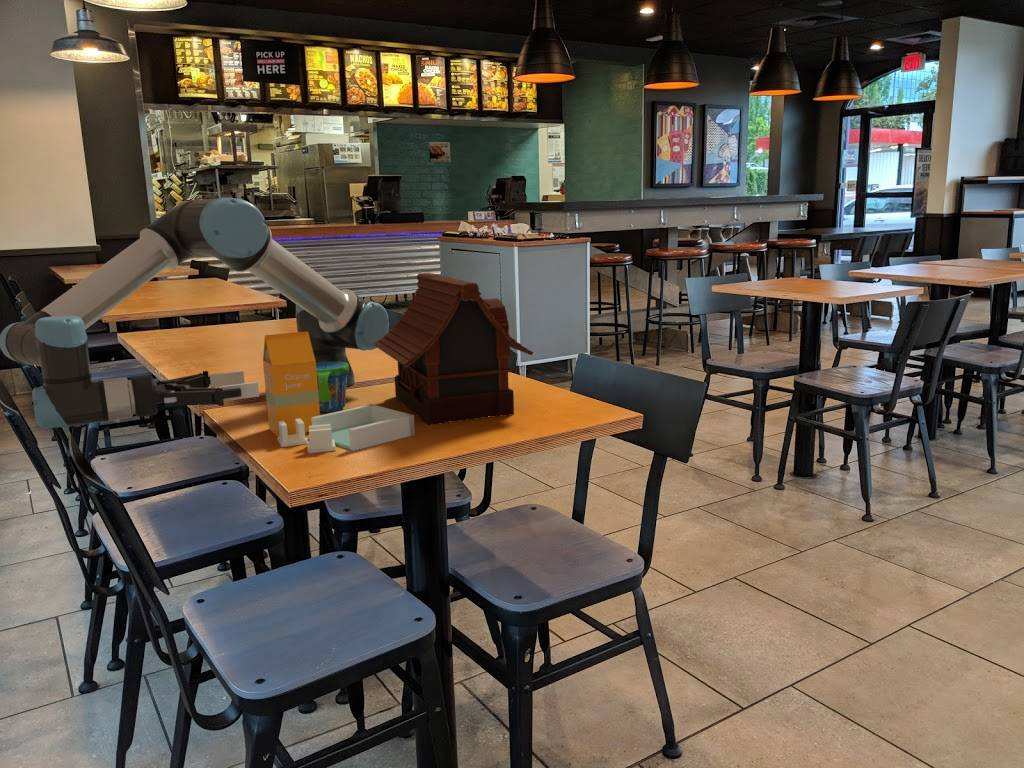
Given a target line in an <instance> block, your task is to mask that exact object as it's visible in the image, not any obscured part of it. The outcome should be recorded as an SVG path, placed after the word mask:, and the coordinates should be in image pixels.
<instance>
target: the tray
mask: <svg viewBox="0 0 1024 768" xmlns="http://www.w3.org/2000/svg"><path fill="white" fill-rule="evenodd" d="M311 421H312V426H313V425H324V424H331V431H332V440H333V439H334V440H335V446H339V447H341V448H344V449H347V450H349V451H353V452H356V451H359V449H360V450H362V449H366V448H370V447H374V446H378V445H382V444H385V443H389V442H392V441H397V440H401V439H404V438H407V437H408V438H409V437H412V436H415V435H416V432H415V428H416V427H415V415H414V414H410V413H408V412H407V413H406V412H404V411H399V410H395V409H391V408H388V407H383V406H380V405H376V404H371V403H370V404H366V405H361V406H357V407H353V408H352V407H351V408H348V409H344V410H343V409H342V410H337V411H332V412H328V413H326V414H320V416H315V417H311Z"/></svg>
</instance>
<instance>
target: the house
mask: <svg viewBox="0 0 1024 768" xmlns="http://www.w3.org/2000/svg"><path fill="white" fill-rule="evenodd" d="M416 280H417V283H416V285H417V289H416V291H415V292H414V294H415V295H414V296H413V297H412V299H411V302H410V303H409V305H407V309H406V311H404V312H403V315H402V316H401V317H400V318H399V320H398V321H397V322H396V323H395V324H394V326H393V327H392V328H391V329H390V330H389V331H388V333H387V334H385V335H384V337H382V338H381V339H379V341H378V342H376V343H374V345H375V346H376V347H377V348H376V349H379V350H380V351H381V352H383V353H385V354H386V355H388V356H389V357H391V358H392V359H394V360H395V361H396V362H397V373H398V374H396V375H395V377H394V389H395V391H394V393H395V397H396V399H397V400H398V401H399V402H401V403H402V404H403V405H405V406H406V407H407V408H408V409H409V410H410V411H412V412H413V413H414V414H415V415H416V416H417V415H418V416H419V417H418V416H417V417H418V418H419V419H421V420H422V421H423V422H424V423H425V422H426V423H425V424H427V425H428V426H432V425H431V424H434V425H440V424H439V423H442V424H445V422H446V423H450V422H449V421H454V422H460V421H459V420H462V421H467V420H466V419H469V420H475V419H474V418H479V419H482V418H481V417H487V418H489V417H488V416H495V417H498V416H499V417H501V416H500V415H507V416H510V415H509V414H513V415H514V414H515V407H514V406H515V403H514V401H515V400H514V399H515V398H514V397H515V396H514V395H515V394H514V393H515V392H514V390H513V389H511V388H509V373H512V368H509V364H508V363H509V361H508V360H509V358H511V349H514V350H517V351H519V352H522V353H524V354H527V355H529V356H532V355H533V354H534V351H531V350H530V349H528V348H527V347H525V346H523V345H522V344H521V343H519V342H518V341H517V340H515V338H513V337H511V335H510V332H509V330H510V323H509V320H508V315H507V310H506V306H505V305H504V303H503V301H501V300H500V298H499V299H498V298H485V299H483V298H482V297H481V295H482V292H481V291H480V288H479V285H478V283H475V282H472V281H471V282H470V281H467V280H461V279H456V278H453V277H451V276H445V275H440V274H439V273H438V274H437V273H431V272H424V273H422V272H421V273H420V272H419V273H418V274H417V275H416ZM496 415H498V416H496Z"/></svg>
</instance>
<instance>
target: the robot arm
mask: <svg viewBox="0 0 1024 768" xmlns="http://www.w3.org/2000/svg"><path fill="white" fill-rule="evenodd" d="M265 220H266V219H265V217H264V215H263V214H262V212H261V211H260V210H259V209H258V207H256V206H255V205H254V204H252V203H251V202H250V201H247V200H244V199H242V198H236V197H235V198H233V197H228V196H225V197H218V198H206V199H205V198H204V199H192V200H186V201H183V202H182V203H180V204H178V205H176V206H174V207H173V208H171V209H170V210H167V212H165V213H164V214H162V215H161V216H159V217H158V218H157V219H156V220H154V221H153V222H151V223H150V224H148V225H147V226H146V227H144V228H143V229H141V230H140V232H139V238H138V239H137V240H135V242H133V243H131V244H130V245H129V246H128V247H126V248H124V249H123V250H121V251H120V252H119V253H117V254H116V255H115V256H114V257H112V258H111V259H110V260H108V261H106V263H104V264H102V265H101V266H100V267H98V268H97V269H96V270H94V271H93V272H92V273H90V274H89V275H87V276H86V277H84V278H83V279H82V280H80V281H79V282H78V283H76V284H75V285H73V286H72V287H71V288H69V289H68V290H67V291H66V292H64V293H63V294H61V295H60V296H59V297H57V298H56V299H54V300H53V301H52V302H51V303H49V304H48V305H47V306H45V307H43V308H42V309H40V310H39V311H38V312H36V313H34V314H33V315H31V316H30V317H29V318H27V319H26V320H25V321H19V322H15V323H14V322H13V323H11V324H8V325H7V326H6V327H5V328H3V330H1V333H0V351H1V352H2V354H3V355H4V356H5V357H6V358H8V359H10V360H12V361H14V362H17V363H19V364H22V365H31V366H35V367H40V368H41V372H42V373H41V374H42V380H43V385H41V386H39V387H34V388H33V389H32V393H31V395H32V403H33V411H34V417H35V422H36V424H37V425H38V427H40V428H42V429H56V428H70V427H75V426H82V425H89V424H97V423H101V422H108V421H110V422H111V421H113V422H115V423H117V424H119V423H120V422H121V420H125V419H126V420H127V419H132V418H133V415H135V416H136V417H138V418H142V417H148V416H149V417H150V416H155V415H157V414H158V413H159V407H158V405H159V404H164V407H166V408H171V407H180V406H181V407H182V406H207V405H209V406H210V405H211V406H213V405H217V406H218V407H222V406H225V403H224V402H227V401H234V400H241V399H243V400H244V399H250V398H259V397H260V389H259V382H258V381H253V382H246V381H245V373H244V372H245V371H244V370H238V371H237V370H236V371H227V372H219V373H210V374H209V370H203V371H202V372H201V373H196V374H191V375H186V376H181V377H176V378H172V379H167V380H157V381H155V380H154V377H153V376H152V375H151V374H147V375H145V374H144V375H139V376H138V375H137V376H132V377H131V378H130V379H128V378H127V377H125V376H124V377H117V378H110V379H109V378H108V379H107V378H106V379H101V380H93V377H92V374H93V373H92V370H91V364H90V362H91V361H90V353H89V346H88V334H87V333H86V332H87V331H86V330H87V329H89V327H91V326H92V325H93V324H95V323H96V322H98V321H99V320H100V319H102V318H103V317H104V316H105V315H107V314H108V313H109V312H111V311H112V310H113V309H115V308H116V307H117V306H118V305H120V304H121V303H122V302H124V301H125V300H127V298H129V297H130V296H132V294H134V293H135V292H137V291H138V290H139V289H141V288H142V287H143V286H145V285H146V284H147V283H148V282H151V280H153V279H154V278H155V277H156V276H158V275H159V274H160V273H161V272H163V271H164V270H166V269H175V268H176V267H178V266H179V265H181V264H182V263H183V262H186V261H188V260H190V259H193V258H198V257H209V258H210V257H213V258H216V259H217V260H219V261H221V262H222V263H223V264H224V265H226V266H227V267H229V268H231V269H232V270H233V271H235V272H238V273H243V272H247V271H248V272H249V273H251V274H252V275H254V276H255V277H256V278H258V280H259V279H260V280H261V281H262V282H263V283H265V284H266V285H268V286H270V287H271V288H272V289H274V290H276V292H278V293H279V294H281V295H282V296H284V297H286V298H287V299H288V300H290V301H291V302H293V303H294V304H295V318H296V329H297V330H296V331H297V332H306V331H308V334H309V338H310V342H311V346H312V349H313V353H314V357H315V360H316V363H319V362H345V363H348V365H349V372H348V373H347V386H346V388H347V387H350V386H353V385H354V384H355V373H354V371H353V369H352V366H351V363H350V361H349V359H348V356H347V352H346V350H347V349H353V350H355V349H356V350H360V351H362V352H363V351H374V350H376V349H378V348H377V347H376V346H375V345H374V343H376V342H378V341H379V339H381V338H382V337H384V335H385V334H387V333H388V332H389V327H390V322H389V314H388V312H387V309H385V307H384V306H383V305H382V304H380V303H377V302H375V301H370V302H369V301H366V300H364V299H363V298H362V297H361V296H359V295H358V294H357V293H355V292H354V291H352V290H351V289H345V288H343V289H339V288H338V287H336V286H335V285H334V284H333V283H332V282H330V281H329V280H327V279H326V278H325V277H323V276H322V275H320V274H319V273H318V272H316V271H315V270H314V269H313V268H312V267H310V266H308V265H307V264H306V263H304V262H303V261H302V260H301V259H299V258H298V257H297V256H295V255H294V254H293V253H291V252H290V251H289V250H287V249H286V248H285V247H284V246H282V244H279V243H278V242H277V241H275V240H274V239H273V238H272V237H273V235H272V231H271V228H270V227H269V226H268V225H267V224H265ZM155 382H156V383H155ZM245 382H246V383H245Z"/></svg>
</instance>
